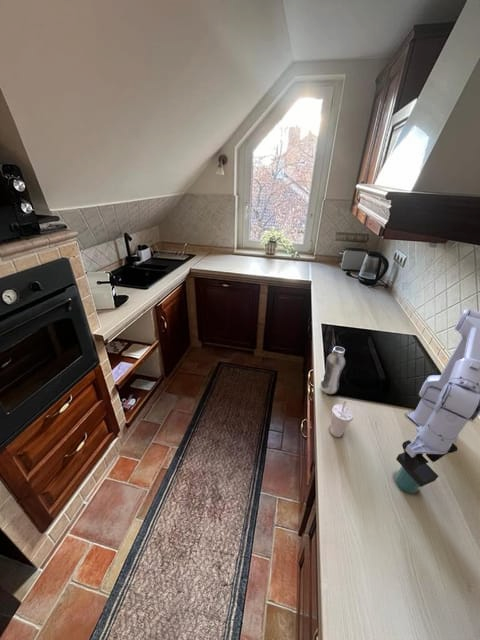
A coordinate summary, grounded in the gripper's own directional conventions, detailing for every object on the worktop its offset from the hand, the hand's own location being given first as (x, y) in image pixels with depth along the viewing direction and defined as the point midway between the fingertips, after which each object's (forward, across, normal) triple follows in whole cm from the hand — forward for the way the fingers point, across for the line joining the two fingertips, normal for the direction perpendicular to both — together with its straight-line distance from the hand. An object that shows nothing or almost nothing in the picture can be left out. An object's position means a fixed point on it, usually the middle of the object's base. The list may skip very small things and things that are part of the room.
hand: (419, 462), depth 65 cm
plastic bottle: (+10, 0, -36) cm, 37 cm away
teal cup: (+10, 0, 0) cm, 10 cm away
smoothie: (+10, +8, -19) cm, 23 cm away
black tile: (+3, 0, 0) cm, 3 cm away
